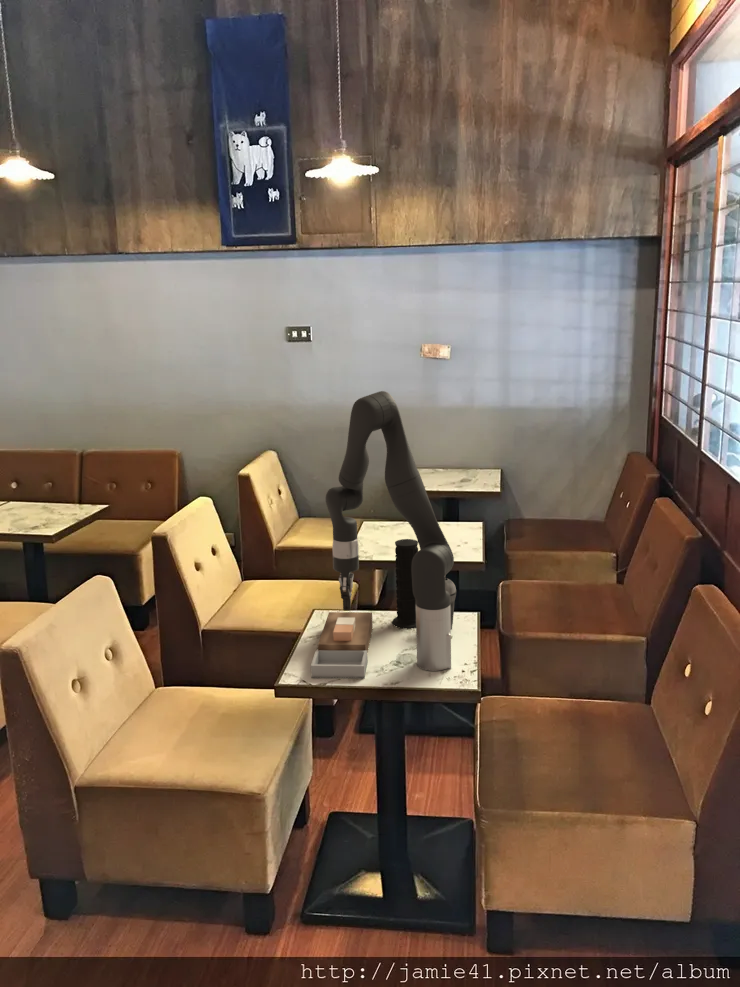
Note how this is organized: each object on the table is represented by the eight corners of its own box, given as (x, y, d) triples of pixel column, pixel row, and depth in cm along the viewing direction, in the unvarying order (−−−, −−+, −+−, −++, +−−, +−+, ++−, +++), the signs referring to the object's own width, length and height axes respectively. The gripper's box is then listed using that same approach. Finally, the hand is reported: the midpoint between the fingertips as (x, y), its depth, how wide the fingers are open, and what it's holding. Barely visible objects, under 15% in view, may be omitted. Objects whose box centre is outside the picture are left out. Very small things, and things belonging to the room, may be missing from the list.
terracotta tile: (353, 633, 229) (353, 625, 229) (351, 640, 225) (351, 632, 224) (335, 633, 230) (335, 625, 229) (333, 640, 225) (333, 632, 224)
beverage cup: (429, 632, 241) (428, 567, 236) (435, 622, 248) (434, 559, 243) (454, 634, 239) (453, 569, 234) (458, 624, 246) (458, 561, 241)
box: (367, 662, 223) (367, 650, 222) (364, 678, 213) (364, 666, 212) (316, 661, 224) (316, 650, 223) (311, 677, 215) (310, 665, 214)
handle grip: (409, 613, 256) (385, 622, 249) (407, 532, 249) (382, 539, 243) (431, 622, 248) (407, 631, 242) (430, 538, 242) (405, 546, 236)
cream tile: (355, 625, 235) (355, 617, 234) (353, 632, 230) (353, 624, 229) (338, 625, 235) (337, 617, 235) (336, 632, 230) (335, 624, 230)
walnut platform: (372, 628, 245) (372, 612, 244) (365, 661, 223) (365, 644, 222) (329, 627, 246) (329, 612, 245) (318, 661, 224) (317, 644, 223)
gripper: (356, 561, 229) (357, 618, 233) (360, 546, 242) (361, 601, 246) (329, 560, 230) (331, 618, 234) (335, 546, 242) (336, 601, 247)
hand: (347, 609), depth 240 cm, fingers closed
